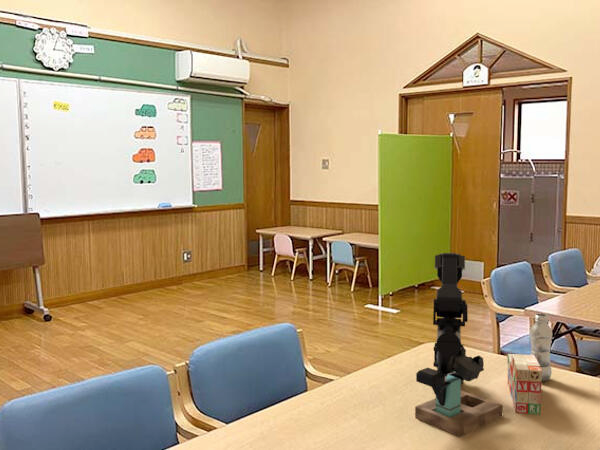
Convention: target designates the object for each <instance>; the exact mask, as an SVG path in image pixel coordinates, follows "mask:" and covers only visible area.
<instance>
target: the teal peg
mask: <svg viewBox="0 0 600 450" xmlns="http://www.w3.org/2000/svg"><path fill="white" fill-rule="evenodd" d="M447 382H450V383H451V384H450V385H449V386H447V388H446V398H445V405H444V406H441V405H440V403H439V401H438V399H437V397H436V396H435V398H436V404H435V405H436V412H438V413H440V414H443V415H445V416H447V417H450V418H451V417H453V416H455V415H457V414H460V409H461V390H462V385H461V379H460V378H457V377H454V376H451V375H447Z"/></svg>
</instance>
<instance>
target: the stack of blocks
mask: <svg viewBox="0 0 600 450" xmlns="http://www.w3.org/2000/svg"><path fill="white" fill-rule="evenodd" d="M542 383H543V381H542V370H541V368H540V365H539V363H538V361H537V359H536V358H535V356H534V355H531V354H519V353H517V354H516V353H508V354H507V385H508V390H509V393H510V396H511V399H512V404H513V408H514V411H515V413H516V414H526V415H537V416H538V415H540V416H541V408H542V407H541V406H542V404H541V401H542V399H541V397H542V396H541V395H542V394H541V393H542Z"/></svg>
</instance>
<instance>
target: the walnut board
mask: <svg viewBox="0 0 600 450" xmlns="http://www.w3.org/2000/svg"><path fill="white" fill-rule="evenodd" d="M435 404H436V397H435V398H433V399H430V400H428V401H425V402H423V403H421V404H418V405H416V406H415V408H414V409H415V410H414V411H415V413H414V415H415V416H414V418H415V419H417V420H420V421H422V422H425V423H427V424H429V425H431V426H433V427H436V428H439V429H441V430H443V431H446V432H448V433H451V434H453V435H455V436H456V437H458V438H459V437H463V436H464V435H467V434H469V433H470V432H472V431H475V430H476V429H479V428H480V427H482V426H485V425H486V424H489V423H491V422H492V421H495V420H497V419H499V418H501V417H503V404H501V403H498V402H496V401H492V400H490V399H487V398H484V397H481V396H479V395H476V394H472V393H470V392H467V391H465V390H462V389H461V409H460V414H457V415H455V416H453V417H451V418H450V417H447V416H445V415H443V414H440V413H438V412H436V405H435Z"/></svg>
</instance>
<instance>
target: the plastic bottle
mask: <svg viewBox="0 0 600 450" xmlns="http://www.w3.org/2000/svg"><path fill="white" fill-rule="evenodd" d="M548 323H549V315H548V314H546V313H535V314H534V323H533V324H532V326H531V328H530V329H529V336H530V337H529V338H530V347H531V350H530V355H534V356H535V358H536V359H537V361H538V363H539V365H540V368H541V370H542V381H541V382H545V381H549V380H550V379H551V377H552V365H551V345H552V340H553V339H552V338H553V331H552V328H551V327H550V325H549V324H548Z"/></svg>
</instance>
